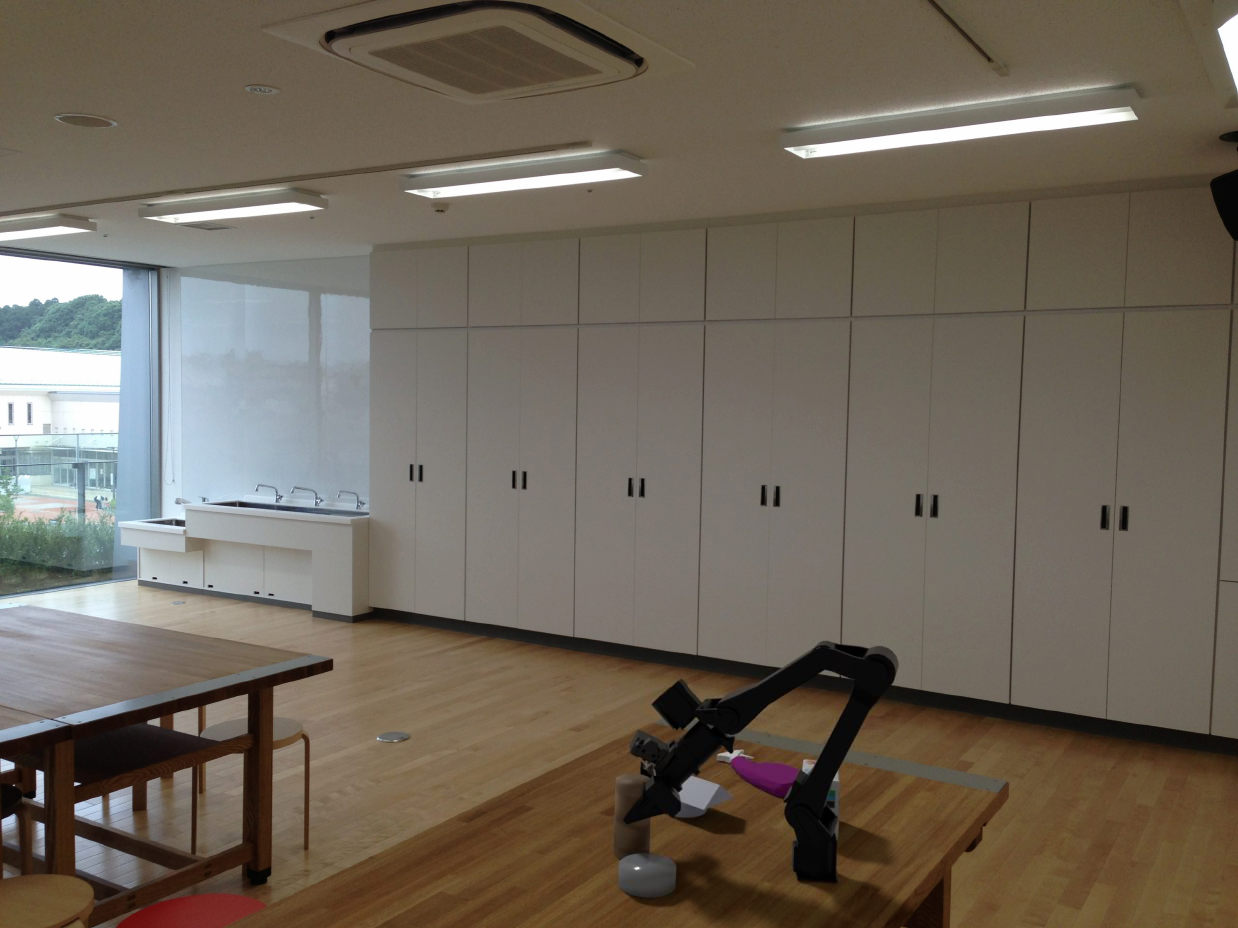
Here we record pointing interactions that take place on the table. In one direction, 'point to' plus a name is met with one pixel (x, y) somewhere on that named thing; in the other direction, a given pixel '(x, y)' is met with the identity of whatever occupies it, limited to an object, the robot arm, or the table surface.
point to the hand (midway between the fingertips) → (624, 814)
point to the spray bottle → (762, 773)
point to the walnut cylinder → (625, 835)
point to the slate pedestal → (647, 875)
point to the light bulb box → (834, 791)
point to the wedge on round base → (700, 796)
